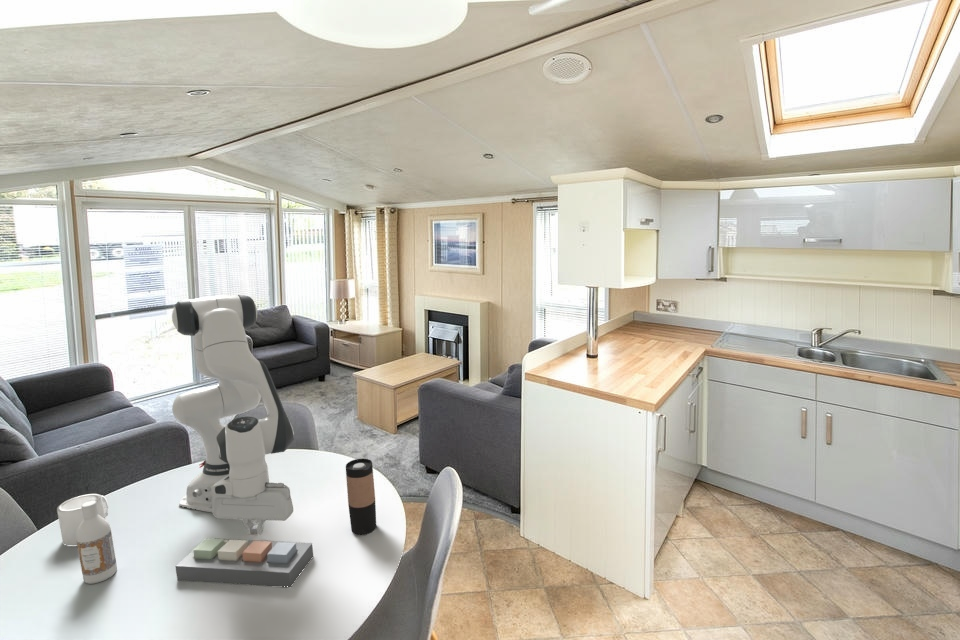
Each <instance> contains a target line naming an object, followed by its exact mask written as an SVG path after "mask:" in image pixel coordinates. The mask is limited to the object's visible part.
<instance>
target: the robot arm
mask: <svg viewBox="0 0 960 640" xmlns="http://www.w3.org/2000/svg"><path fill="white" fill-rule="evenodd" d="M257 318H258V307H257V305H256V304H255V301H254V299H253V298H252V297H251V296H249V295H242V294H238V295H227V294H226V295H214V296H205V297H204V296H203V297H197V298H192V299H191V298H185V299H182V300H178V301H177V302H176V303H175V305H174V307H173V310H172V314H171V321H172V324H173V326H174V328H175V329H176V332H177V333H179V334H181V335H183V336H191V337H193V346H194V347H193V348H194V358H195V368H196V370H197V372H198V373H199V374H201V376H204V377H206V378H209V379H214V380H217V381H218V383H215V384H213V385H208V386H203V387H198V388H194V389H193V388H192V389H191V390H187V391H185V392H183V393H180V394H178V395H177V396H175V399H174V400H173V402H172V405H171V406H172V415H173V416H174V418H175V419H176V421H177V422H179V423H180V424H181V425H183V426H186V427H189V428H191V429H192V430H193V431H195V432H196V434H198V436H199V437H200V438H201V441H202V444H203V447H204V452H205V459H204V460H203V462H202V463H200V464H199V469H201V468H202V467H203V468H202V471H201V472H200V473H199V474H198V475H196V477H194V478H193V479H192V480H191V481H190V482H189V483H188V485H187V487H186V494H185V495H184V496H183V497H182V498H181V499H180V501H179V503H178V507H180V506H182V507H181V508H184V507H187V508H186V509H190V508H192V509H191V510H195V509H196V510H195V511H203V512H207V513H212V515H213V516H214V517H215V518H216V519H220V520H221V519H222V520H224V519H225V520H242V523H243V525H244V527H245V528H246V529H247V532H248V535H252V536H253V535H255V536H257V535H258V536H261V534H263V532H264V527H263V526H264V523H265V522H266V521H279V522H280V521H287V520H288V519H289V517H291V516H292V514H293V513H294V505H293V500H292V497H291V489H290V487H289V486H288V485H286V484H285V483H283V482H278V483H277V482H270V477H269V476H270V475H269V467H268V464H267V462H266V455H269V454H271V455H272V454H279V453H284V452H285V451H286V450H288V449H289V448H290V446H291V445H292V443H293V442H294V438H295V437H294V436H295V433H294V428H293V426H292V425H293V424H292V423H291V421H290V420H289V417H288V415H287V413H286V411H285V409H284V407H283V404H282V401H281V399H280V397H279V393H278V391H277V388H276V386H275V383H274V381H273V378H272V375H271V374H270V371H269V369H268V367H267V365H266V364H265V362H264V361H263V360H261V359H257V358H256V356H254V355H253V353H252V352H251V349H250V346H249V343H248V342H249V341H248V338H247V337H248V336H247V333H246V331H245V330H247V329H250V328H253V327H254V325H255V324H256V322H257ZM261 400H262V403H263V405H264V408H265V410H266V414H267V416H266V417H263V418H256V417H254V416H240V417H237V418H234V419H232V420H231V421H229V422H228V423H227V424H226V425H225V424H221V422H220V420H222V419H224V418H228V417H232V416H235V415H240V414H241V415H242V414H243V413H246V412H249V411H250V410H254V409H255V408H257V407H258V405H259V404H260V402H261ZM253 520H254V521H255V522H256V524H254V522H253Z"/></svg>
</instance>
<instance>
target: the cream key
mask: <svg viewBox="0 0 960 640" xmlns="http://www.w3.org/2000/svg"><path fill="white" fill-rule="evenodd" d="M247 540H248V539H241V540H229V541H228V542H227V543H226V544H225V545H224V546H223V547H221V548H220V549H219V550H218V559H219V560H229V561H237V560H238V559H239V558H240V557H241V556H242V552H243V551H244V550H245V549H246V548H247V547H248V541H247Z"/></svg>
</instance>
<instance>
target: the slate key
mask: <svg viewBox="0 0 960 640" xmlns="http://www.w3.org/2000/svg"><path fill="white" fill-rule="evenodd" d="M288 542H289V541H281V542H277V544H276V545H275V546H274V547H273V548H272V549H271V550H270V551H269V553H268V554H267V556H268V563H282V564H288V562H289V561H290V560H291V559H292V557H293V556H294V555H295V554H296V552H297V548H296V543H288Z"/></svg>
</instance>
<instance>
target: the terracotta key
mask: <svg viewBox="0 0 960 640" xmlns="http://www.w3.org/2000/svg"><path fill="white" fill-rule="evenodd" d="M268 541H269V540H261V541H253V542H252V543H251V544H250V545H249V546H248V547H247V548H246V549H245V550H244V551H243V552H242V555H243V561H246V562H263V561H264V559H265V558H266V557H267V554H268V553H269V551H270V550H271V549H272V542H268Z"/></svg>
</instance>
